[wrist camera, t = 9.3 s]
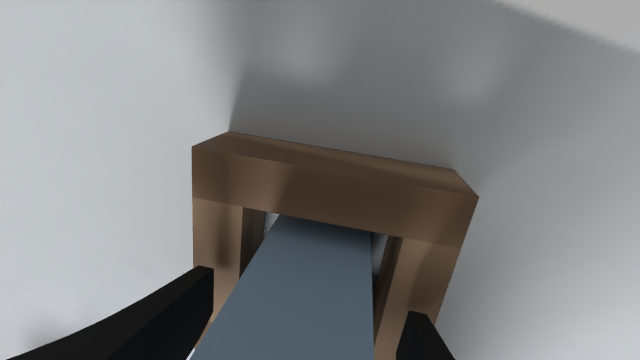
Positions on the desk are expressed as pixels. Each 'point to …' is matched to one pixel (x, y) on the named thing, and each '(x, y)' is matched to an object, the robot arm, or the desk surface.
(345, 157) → the walnut collar
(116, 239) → the desk surface
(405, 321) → the robot arm
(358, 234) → the slate-blue peg
